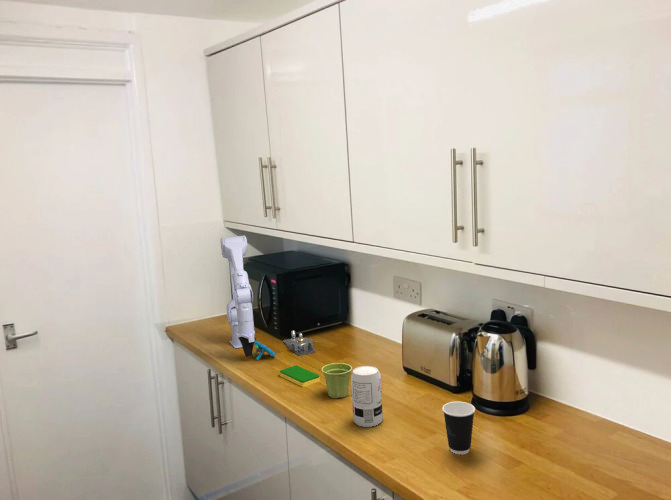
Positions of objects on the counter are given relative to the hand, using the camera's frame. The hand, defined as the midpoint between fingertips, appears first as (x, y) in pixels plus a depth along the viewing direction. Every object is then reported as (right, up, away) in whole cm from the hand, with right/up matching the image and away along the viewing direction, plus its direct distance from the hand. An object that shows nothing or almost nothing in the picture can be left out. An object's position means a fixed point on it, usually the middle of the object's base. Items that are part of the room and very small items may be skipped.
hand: (248, 355), depth 218 cm
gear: (+6, -1, +3) cm, 6 cm away
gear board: (+18, +1, +12) cm, 22 cm away
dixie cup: (+63, -11, -71) cm, 96 cm away
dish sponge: (+20, -5, -19) cm, 28 cm away
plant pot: (+33, -6, -34) cm, 48 cm away
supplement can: (+41, -9, -53) cm, 68 cm away
